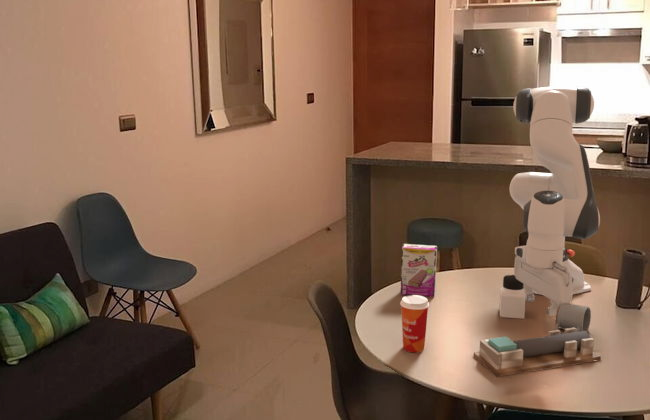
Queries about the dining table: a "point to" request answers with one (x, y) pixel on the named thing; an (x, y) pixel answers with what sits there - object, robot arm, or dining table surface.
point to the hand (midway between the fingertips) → (540, 307)
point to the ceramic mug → (573, 317)
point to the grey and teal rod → (538, 343)
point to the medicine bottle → (512, 298)
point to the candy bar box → (418, 270)
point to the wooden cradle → (535, 357)
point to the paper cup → (414, 322)
